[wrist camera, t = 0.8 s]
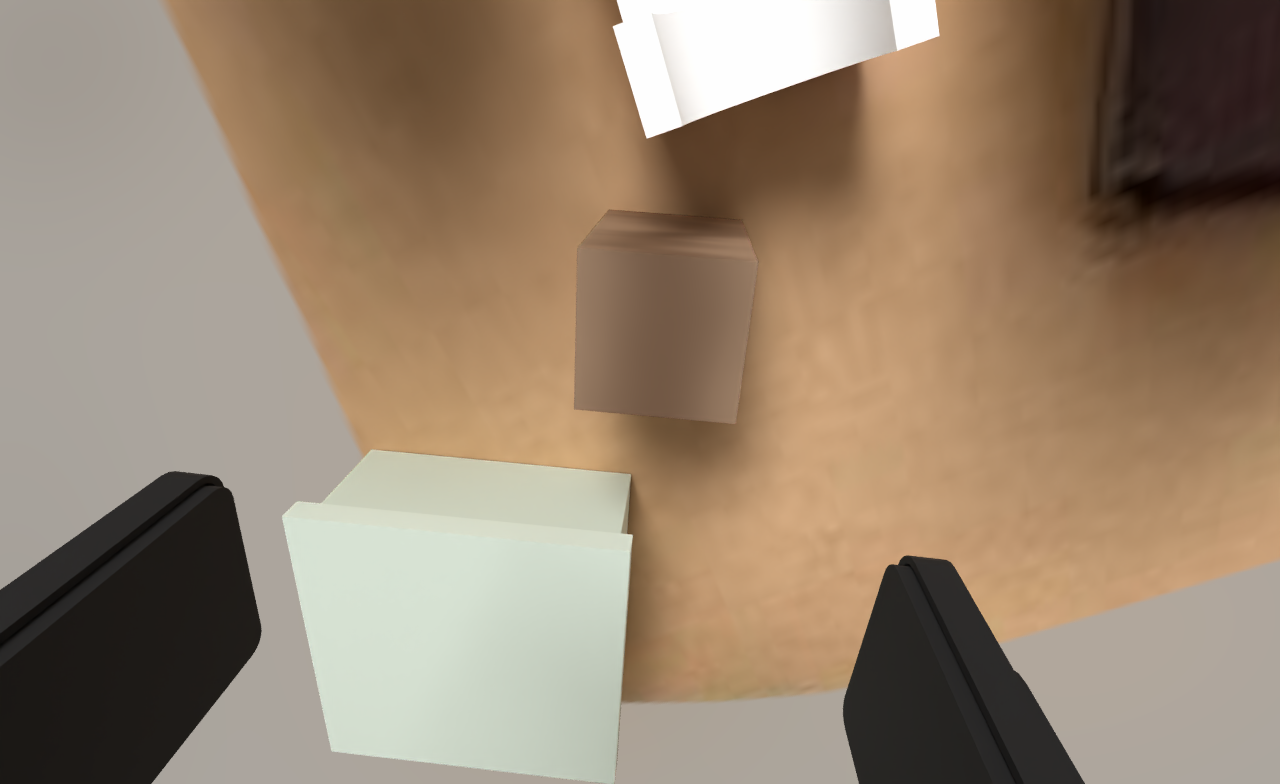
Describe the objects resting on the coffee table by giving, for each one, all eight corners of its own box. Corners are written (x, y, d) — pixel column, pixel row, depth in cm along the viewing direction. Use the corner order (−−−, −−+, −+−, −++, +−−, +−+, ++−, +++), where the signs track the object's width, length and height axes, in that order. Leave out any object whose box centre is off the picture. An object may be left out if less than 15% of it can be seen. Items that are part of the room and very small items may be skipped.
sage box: (642, 465, 28) (630, 551, 23) (627, 675, 34) (614, 784, 28) (359, 438, 29) (281, 516, 23) (389, 648, 34) (331, 751, 29)
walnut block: (741, 219, 24) (758, 262, 17) (725, 345, 26) (735, 424, 19) (608, 209, 24) (577, 247, 18) (603, 334, 26) (574, 409, 20)
